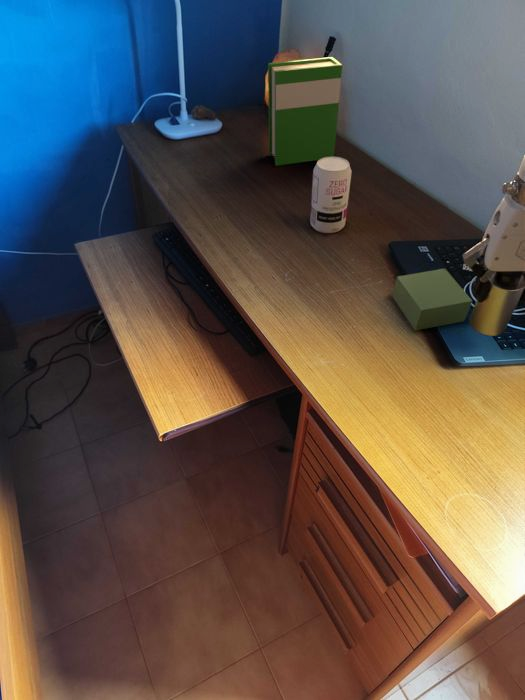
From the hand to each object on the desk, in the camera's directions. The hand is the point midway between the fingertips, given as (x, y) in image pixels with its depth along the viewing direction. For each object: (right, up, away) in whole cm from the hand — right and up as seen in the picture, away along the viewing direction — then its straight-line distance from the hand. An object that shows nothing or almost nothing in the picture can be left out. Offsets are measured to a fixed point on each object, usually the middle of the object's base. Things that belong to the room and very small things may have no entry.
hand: (499, 295), depth 74 cm
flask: (0, -4, +5) cm, 6 cm away
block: (-6, -1, +15) cm, 16 cm away
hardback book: (-26, +48, +63) cm, 84 cm away
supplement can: (-22, +21, +37) cm, 48 cm away
